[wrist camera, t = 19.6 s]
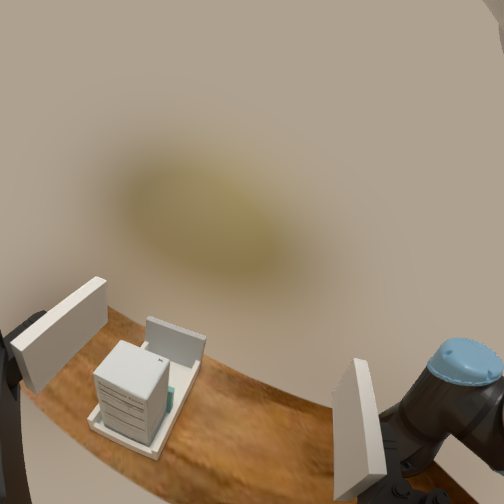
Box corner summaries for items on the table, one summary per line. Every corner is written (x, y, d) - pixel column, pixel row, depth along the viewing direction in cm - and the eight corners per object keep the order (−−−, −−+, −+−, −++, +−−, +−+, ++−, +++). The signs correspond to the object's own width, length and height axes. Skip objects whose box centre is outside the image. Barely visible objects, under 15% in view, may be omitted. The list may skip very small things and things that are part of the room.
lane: (157, 460, 31) (157, 435, 28) (90, 429, 31) (81, 398, 28) (200, 368, 50) (206, 336, 47) (147, 348, 51) (149, 315, 48)
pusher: (170, 413, 38) (172, 392, 36) (121, 392, 39) (119, 370, 37) (172, 409, 39) (174, 388, 37) (124, 388, 40) (122, 366, 38)
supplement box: (124, 395, 39) (121, 337, 34) (167, 414, 38) (172, 358, 34) (102, 427, 32) (90, 372, 27) (149, 449, 31) (147, 399, 27)
